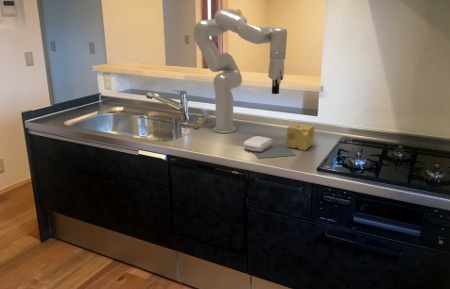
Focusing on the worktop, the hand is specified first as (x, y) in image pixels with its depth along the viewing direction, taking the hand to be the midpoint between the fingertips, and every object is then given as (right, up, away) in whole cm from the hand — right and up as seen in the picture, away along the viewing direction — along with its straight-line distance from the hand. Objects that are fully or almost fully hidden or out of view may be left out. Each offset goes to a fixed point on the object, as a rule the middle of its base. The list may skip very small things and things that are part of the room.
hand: (275, 93), depth 196 cm
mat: (-2, -28, -7) cm, 29 cm away
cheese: (+11, -26, 0) cm, 28 cm away
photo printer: (-5, -23, +1) cm, 24 cm away
